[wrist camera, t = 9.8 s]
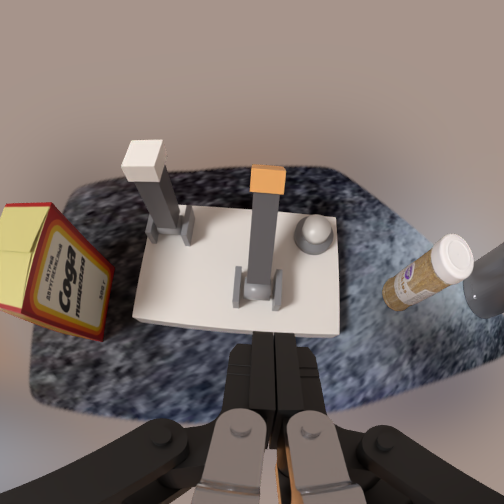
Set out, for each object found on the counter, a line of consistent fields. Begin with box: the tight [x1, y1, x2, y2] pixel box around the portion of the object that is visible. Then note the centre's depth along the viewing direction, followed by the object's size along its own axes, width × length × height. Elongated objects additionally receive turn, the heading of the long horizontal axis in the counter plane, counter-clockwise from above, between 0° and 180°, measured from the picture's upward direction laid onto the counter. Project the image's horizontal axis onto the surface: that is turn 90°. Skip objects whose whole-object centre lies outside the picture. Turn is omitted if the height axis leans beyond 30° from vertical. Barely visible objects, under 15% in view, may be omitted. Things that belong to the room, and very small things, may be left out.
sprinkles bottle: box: [382, 234, 474, 311], centre depth 28 cm, size 5×5×13 cm
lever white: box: [121, 140, 184, 235], centre depth 27 cm, size 3×3×13 cm
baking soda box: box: [0, 202, 115, 342], centre depth 25 cm, size 10×6×16 cm
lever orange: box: [243, 164, 286, 301], centre depth 28 cm, size 3×3×13 cm
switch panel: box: [132, 205, 339, 338], centre depth 32 cm, size 22×14×6 cm, turn 86°
